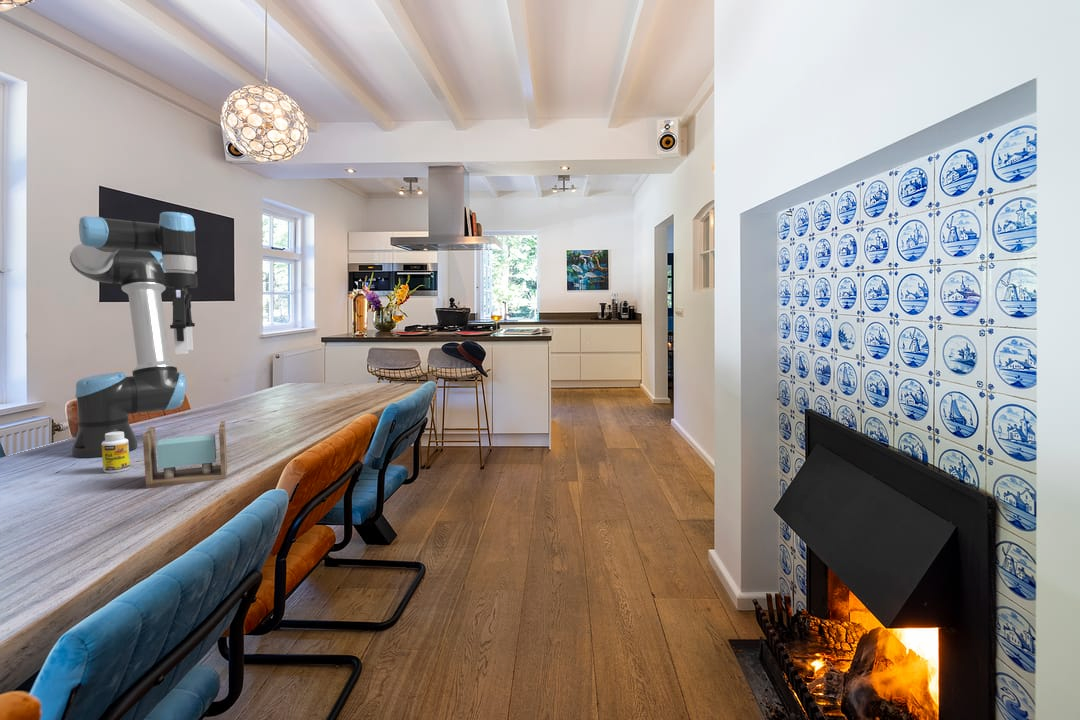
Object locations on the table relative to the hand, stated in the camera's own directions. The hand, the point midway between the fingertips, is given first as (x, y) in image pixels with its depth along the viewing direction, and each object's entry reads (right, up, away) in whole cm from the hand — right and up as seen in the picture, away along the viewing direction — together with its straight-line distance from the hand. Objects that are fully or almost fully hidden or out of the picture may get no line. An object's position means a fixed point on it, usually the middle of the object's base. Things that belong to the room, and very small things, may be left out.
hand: (184, 352), depth 139 cm
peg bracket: (+6, -33, -6) cm, 34 cm away
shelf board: (+6, -29, -7) cm, 30 cm away
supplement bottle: (-18, -32, -1) cm, 36 cm away
